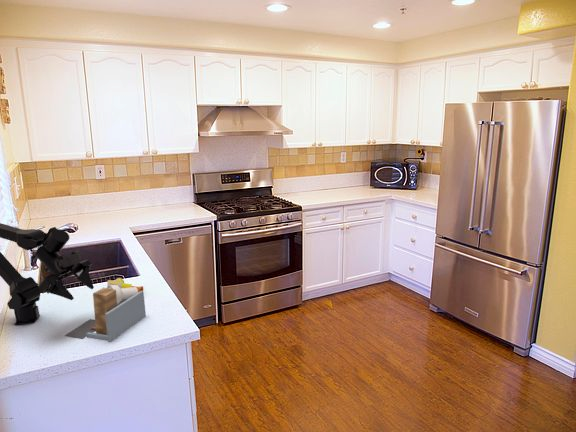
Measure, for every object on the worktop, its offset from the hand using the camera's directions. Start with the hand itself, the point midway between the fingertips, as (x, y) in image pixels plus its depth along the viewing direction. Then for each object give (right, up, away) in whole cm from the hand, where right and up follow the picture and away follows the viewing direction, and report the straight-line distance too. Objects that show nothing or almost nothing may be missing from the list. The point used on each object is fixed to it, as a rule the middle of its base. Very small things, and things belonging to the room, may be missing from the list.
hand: (83, 293), depth 141 cm
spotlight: (+3, -8, +24) cm, 26 cm away
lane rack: (+10, -12, +5) cm, 16 cm away
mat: (0, -13, +3) cm, 13 cm away
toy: (+2, -6, +35) cm, 36 cm away
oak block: (+6, -13, +1) cm, 14 cm away
